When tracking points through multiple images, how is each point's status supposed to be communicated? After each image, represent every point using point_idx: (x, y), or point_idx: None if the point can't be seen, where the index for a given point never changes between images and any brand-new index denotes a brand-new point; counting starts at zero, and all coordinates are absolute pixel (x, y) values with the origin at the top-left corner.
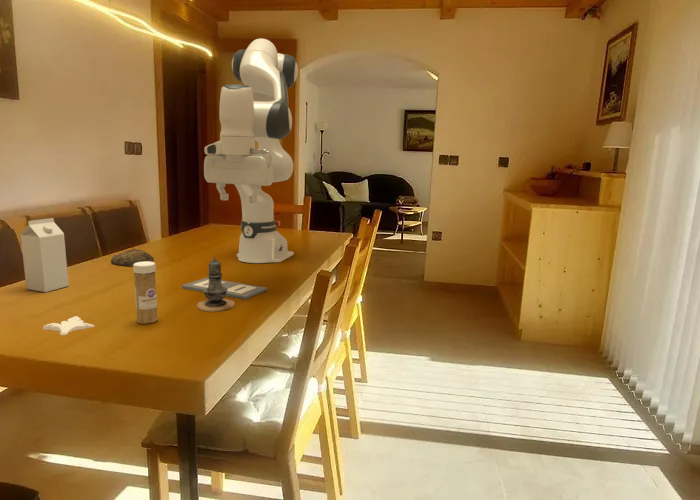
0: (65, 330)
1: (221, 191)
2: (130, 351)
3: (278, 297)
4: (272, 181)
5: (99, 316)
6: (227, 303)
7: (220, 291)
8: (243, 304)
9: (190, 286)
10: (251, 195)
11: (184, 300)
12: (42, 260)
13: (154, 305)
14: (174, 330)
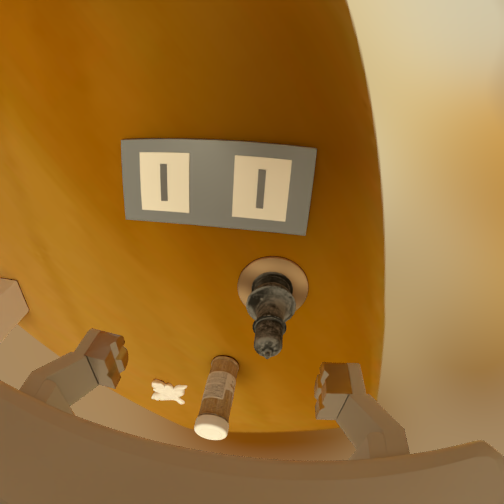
0: (176, 399)
1: (86, 390)
2: (279, 414)
3: (366, 190)
4: (498, 462)
5: (158, 364)
6: (292, 281)
7: (289, 315)
8: (317, 260)
9: (146, 218)
10: (338, 423)
11: (196, 280)
12: (5, 336)
13: (235, 383)
14: (283, 375)
